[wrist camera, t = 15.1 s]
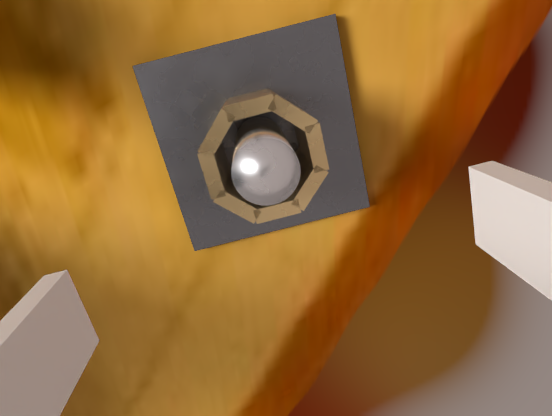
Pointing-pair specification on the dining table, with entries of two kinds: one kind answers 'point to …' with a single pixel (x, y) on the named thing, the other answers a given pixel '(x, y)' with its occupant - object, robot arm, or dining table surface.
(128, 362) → the dining table surface
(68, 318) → the robot arm
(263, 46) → the pipe stub
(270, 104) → the ring
